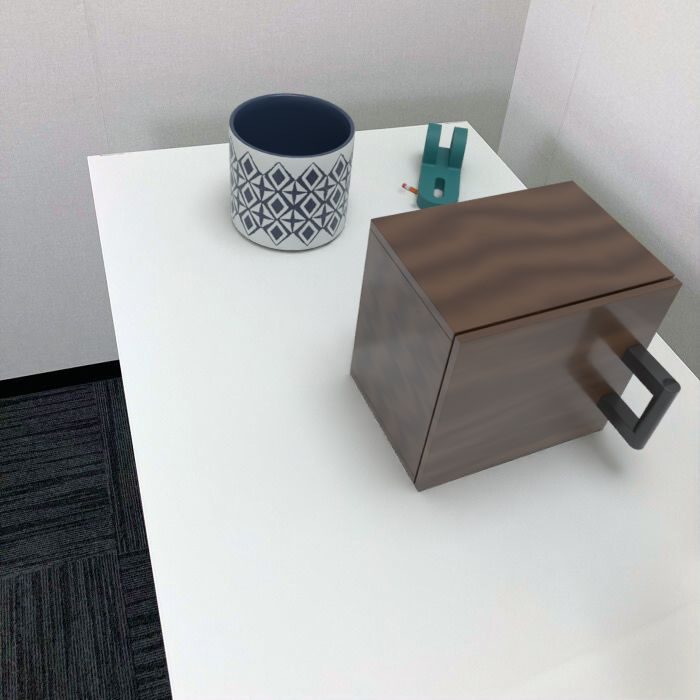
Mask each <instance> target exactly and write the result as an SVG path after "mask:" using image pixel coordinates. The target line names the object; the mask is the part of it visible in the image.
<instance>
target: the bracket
mask: <svg viewBox="0 0 700 700" xmlns="http://www.w3.org/2000/svg"><path fill="white" fill-rule="evenodd" d="M442 129H443V124H440V123H436V122H435V123H434V122H428V125H427V131H426V135H425V140H424V147H423V152H422V159H421V164H420V165H421V166H420V172H419V179H418V180H419V181H418V188H417V190H418V194H416V195H417V196H416V204H417V207H418V208H419V210H420V209H425V208H430V207H435V206H441V205H446V204H451V203H456V202H459V198H460V189H461V174H462V172H461V171H462V167H463V161H464V159H465V152H466V148H467V142H468V136H469V135H468V134H469V128H466V127H462V126H461V127H460V126H454V127H453V130H452V135H451V140H450V144H449V147H444V146H440V144H441V143H440V142H441V136H442ZM435 190H440V191H442V197H437V196H435Z"/></svg>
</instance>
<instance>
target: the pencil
mask: <svg viewBox="0 0 700 700" xmlns="http://www.w3.org/2000/svg"><path fill="white" fill-rule="evenodd" d="M401 187H402V188H404V189H405V190H408V191H410V192H412V193H413V194H414V195H417V194H418V188H415V187H413V186H411V185H410V184H407V183H405V182H404V183H402V184H401Z"/></svg>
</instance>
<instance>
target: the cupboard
mask: <svg viewBox="0 0 700 700" xmlns="http://www.w3.org/2000/svg"><path fill="white" fill-rule="evenodd" d="M367 238H368V239H367V245H366V252H365V260H364V266H363V275H362V280H361V289H360V294H359V295H360V297H359V302H358V304H359V305H358V311H357V318H356V325H355V333H354V340H353V348H352V354H351V361H350V370H349V375H350V376H351V378H352V380H353V382H354V384H355V385H356V387H357V389H358V391H359V392H360V394H361V395H362V397H363V399H364V401H365V403H366V404H367V406H368V408H369V409H370V411H371V413H372V414H373V416H374V418H375V420H376V421H377V423H378V425H379V427H380V429H381V430H382V432H383V434H384V436H385V437H386V439H387V441H388V442H389V444H390V446H391V448H392V450H393V451H394V453H395V455H396V456H397V458H398V460H399V462H400V463H401V465H402V466H403V468H404V470H405V472H406V474H407V476H408V477H409V479H410V481H411V482H412V484H415V482H416V478H417V475H418V471H419V467H420V464H421V460H422V456H423V453H424V449H425V445H426V442H427V438H428V435H429V431H430V427H431V424H432V420H433V416H434V413H435V409H436V406H437V402H438V398H439V395H440V391H441V387H442V384H443V380H444V376H445V373H446V369H447V366H448V362H449V358H450V355H451V351H452V347H453V344H454V340H455V337H456V336H457V335H461V334H465V333H469V332H473V331H476V330H480V329H484V328H488V327H492V326H495V325H499V324H503V323H507V322H511V321H514V320H518V319H522V318H526V317H530V316H533V315H537V314H541V313H545V312H549V311H552V310H556V309H560V308H564V307H567V306H571V305H575V304H579V303H583V302H586V301H590V300H594V299H598V298H602V297H605V296H609V295H613V294H617V293H621V292H624V291H628V290H632V289H636V288H640V287H643V286H647V285H651V284H655V283H659V282H662V281H666V280H670V279H674V278H675V276H676V274H675V273H674V272H673V271H672V270H671V269H669V268H668V266H667V265H666V264H664V263H663V262H662V261H661V260H660V259H658V257H657V256H655V255H654V254H653V253H652V252H651V251H650V250H649V249H648V248H647V247H646V246H644V244H642V243H641V242H640V241H639V240H638V239H637V238H636V237H635V236H634V235H633V234H632V233H630V232H629V231H628V230H627V229H626V228H625V227H624V226H623V225H622V224H621V223H620V222H618V220H616V219H615V218H614V217H613V216H612V215H611V214H610V213H609V212H607V210H605V209H604V208H603V207H602V206H601V205H600V204H599V202H597V201H596V200H595V199H594V198H593V197H591V196H590V195H589V194H588V193H587V192H586V191H585V190H584V189H583V188H582V187H580V185H579V184H577V183H576V181H574V180H573V179H571V180H566V181H561V182H556V183H551V184H545V185H542V186H535V187H531V188H530V187H529V188H525V189H520V190H515V191H509V192H503V193H498V194H494V195H488V196H483V197H478V198H472V199H469V200H468V199H467V200H462V201H458V202H456V203H451V204H446V205H441V206H435V207H430V208H425V209H420V208H419V209H415V210H410V211H405V212H399V213H394V214H388V215H383V216H379V217H373V218H370V224H369V231H368V237H367Z"/></svg>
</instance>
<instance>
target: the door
mask: <svg viewBox="0 0 700 700" xmlns="http://www.w3.org/2000/svg"><path fill="white" fill-rule="evenodd" d="M683 284H684V283H683V282H682V281H681V280H680V279H678V278H677V277H674V278H673V279H670V280H666V281H662V282H659V283H655V284H651V285H647V286H643V287H640V288H636V289H632V290H628V291H624V292H621V293H617V294H613V295H609V296H605V297H602V298H598V299H594V300H590V301H586V302H583V303H579V304H575V305H571V306H567V307H564V308H560V309H556V310H552V311H549V312H545V313H541V314H537V315H533V316H530V317H526V318H522V319H518V320H514V321H511V322H507V323H503V324H499V325H495V326H492V327H488V328H484V329H480V330H476V331H473V332H469V333H465V334H461V335H457V336H456V337H455V340H454V344H453V347H452V351H451V355H450V358H449V362H448V366H447V369H446V373H445V376H444V380H443V384H442V387H441V391H440V395H439V398H438V402H437V406H436V409H435V413H434V416H433V420H432V424H431V427H430V431H429V435H428V438H427V442H426V445H425V449H424V453H423V456H422V460H421V464H420V467H419V471H418V475H417V478H416V482H415V483H414V487H415V489H416V490H417V492H423V491H425V490H427V489H432V488H434V487H438V486H440V485H443V484H446V483H449V482H452V481H455V480H458V479H461V478H463V477H466V476H469V475H473V474H475V473H479V472H481V471H485V470H487V469H490V468H493V467H496V466H499V465H501V464H505V463H507V462H510V461H514V460H517V459H519V458H522V457H525V456H528V455H532V454H534V453H537V452H539V451H543V450H545V449H549V448H552V447H556V446H558V445H561V444H563V443H565V442H569V441H572V440H575V439H578V438H581V437H584V436H587V435H590V434H594V433H595V432H599V431H602V430H604V428H605V427H606V425H607V423H608V422H609V423H610V425H612V427H613V428H614V429H615V430H616V431H617V432H618V434H619V435H620V436H621V437H622V439H623V440H624V441H625V442H626V443H627V444H628V446H629V447H630V448H632V449H633V450H636V451H640V450H644V449H645V447H646V445H647V444H648V442H649V440H651V437H652V436H653V434H654V433H655V431H656V429H657V428H658V426H659V424H660V423H661V421H662V420H663V419H664V417H665V415H666V414H667V413H668V411H669V409H670V408H671V406H672V404H673V403H674V401H675V399H676V398H677V396H678V395H679V393H680V392H681V389H682V387H681V384H680V382H679V381H677V380H676V379H675V377H674V376H673V375H672V374H671V373H670V372H669V371H668V370H667V369H666V368H665V367H664V365H662V364H661V362H659V361H658V360H657V358H655V357H654V355H653V354H651V352H650V351H649V350H648V348H649V347H650V345H651V343H652V341H653V339H654V337H655V336H656V334H657V332H658V331H659V330H658V329H659V328H660V327H661V324H662V323H663V321H664V319H665V318H666V315H667V313H668V312H669V310H670V308H671V306H672V304H673V303H674V301H675V299H676V297H677V296H678V294H679V292H680V290H681V288H682V286H683ZM633 376H635V377H636V378H637V380H638V381H639V382H640V383H641V384H642V385H643V386H644V387H645V389H646V390H647V391H648V392H649V393H650V394H651V395H652V396H651V398H650V400H649V402H648V403H647V405H646V407H645V408H644V410H643V411H642V413H641V415H640V417H639V416H637V414H636V413H635V412H634V411H633V410H632V408H630V405H628V404H627V402H626V401H625V400H624V399H623V398H622V395H623V394H624V392H625V390H626V389H627V386H628V385H629V383H630V381H631V379H632V377H633Z"/></svg>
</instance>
